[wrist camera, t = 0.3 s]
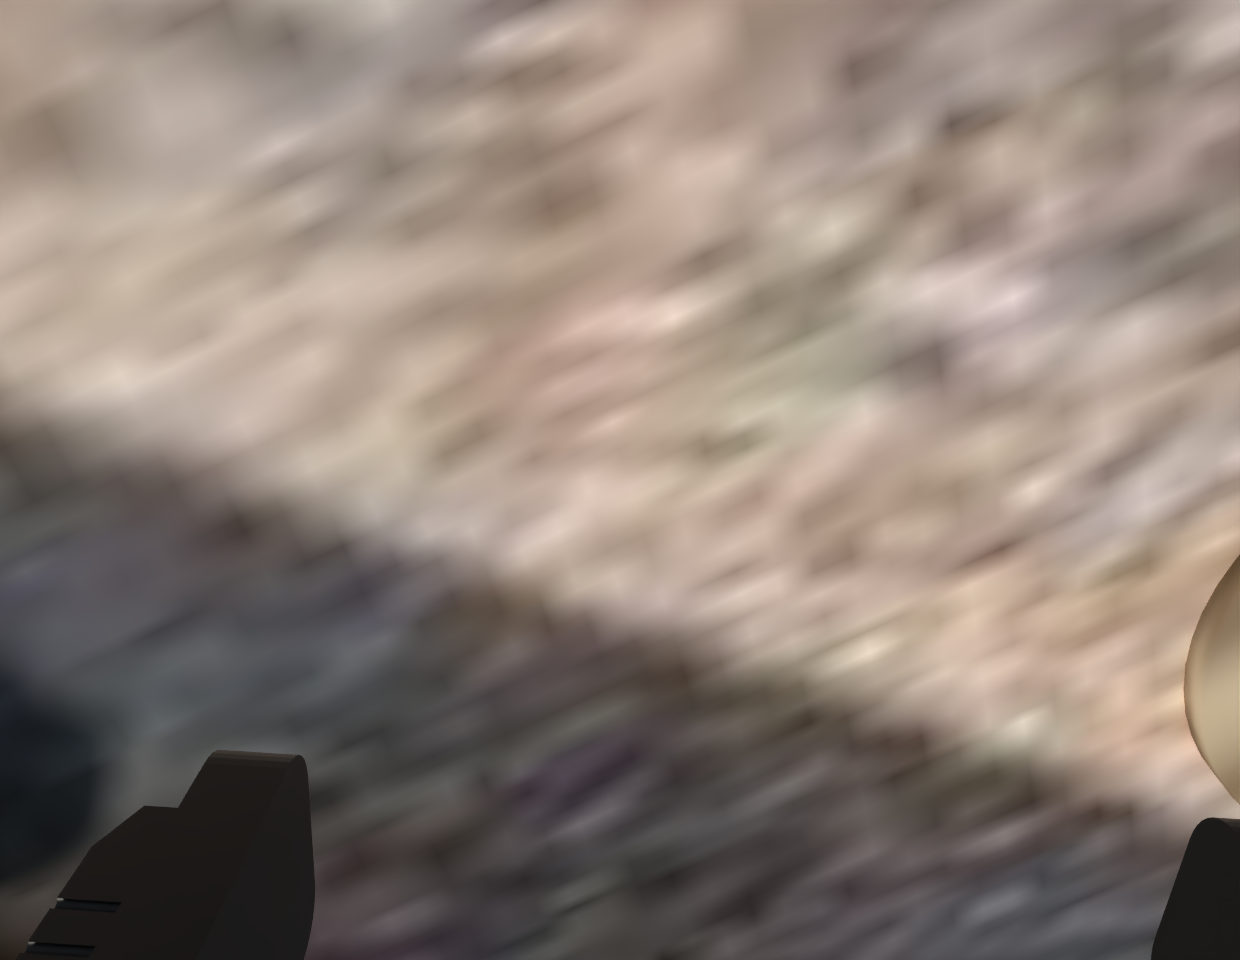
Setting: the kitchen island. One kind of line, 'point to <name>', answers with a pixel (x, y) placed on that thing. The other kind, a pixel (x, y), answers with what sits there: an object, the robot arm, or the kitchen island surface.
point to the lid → (1217, 682)
